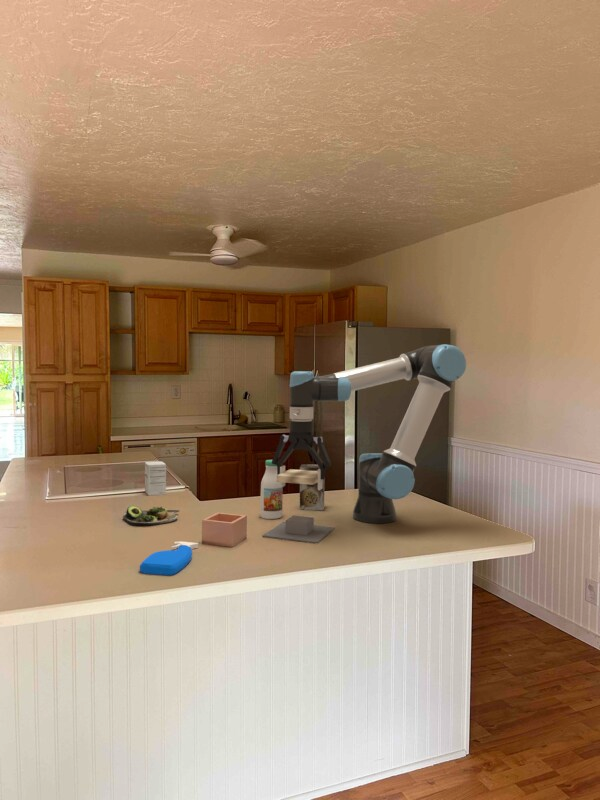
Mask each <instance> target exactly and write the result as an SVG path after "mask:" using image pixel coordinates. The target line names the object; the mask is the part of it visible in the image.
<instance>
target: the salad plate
mask: <svg viewBox="0 0 600 800" xmlns="http://www.w3.org/2000/svg"><path fill="white" fill-rule="evenodd" d="M167 508H168V507H167V506H166V507H162V506H159V507H158V506H157V507H156V506H153V507H152V508H149V510H148V509H147V510H142V509H141V508H140V507H138V506H137V505H129V506H128V507H127V508H126V509H127V510H126V511H125V513H124V514H123V515H122V518H123V520H124V521H125V522H126V523H127V525H128V524H129V525H131V526H134V527H151V526H158V525H163V524H168V523H172V522H174V521H176V520H177V519H179V516H178V515H176V514H177V513H179V512H180V510H179V509H167Z"/></svg>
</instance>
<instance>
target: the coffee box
mask: <svg viewBox="0 0 600 800" xmlns="http://www.w3.org/2000/svg"><path fill="white" fill-rule="evenodd" d="M318 469H320V467H319V466H318V464H304V463H303V464H302V463H301V465H300V466H299V470H309V471H318ZM300 509H304V511H305V510H307V511H324V510H325V479H323V489H321V490H318V482H317V483H315V484H313V485H311V484H299V510H300Z"/></svg>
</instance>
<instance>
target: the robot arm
mask: <svg viewBox="0 0 600 800" xmlns="http://www.w3.org/2000/svg"><path fill="white" fill-rule="evenodd" d="M466 367H467V360H466V358H465V354H464V352H463V351H462V350H461V349H460V348H459V347H457V346H455V345H452V344H448V343H447V344H446V343H445V344H436V345H435V344H434V345H425V346H423V347H419V348H418V349H415V350H411V351H408V352H404V353H401V354H400V355H399V357H396V358H391V359H387V360H384V361H380V362H375V363H372V364H367V365H363V366H359V367H354V368H350V369H347V370H342V371H338V372H334V373H329V374H325V375H321V376H320V375H317V376H315V375H314V372H313V371H308V370H307V371H295V370H294V371H292V372H291V373H290V376H289V377H290V378H289V419H290V421H289V434H288V435H286V434H282V435H280V436H279V442H278V445H277V447H276V450H275V453H274V454H273V457H272V459H271V460H272V464H275V465H277V475H279V474H281V473H283V472H285V471H286V465H284V464H285V462H286V461H287V459H288V458H289V457H290V456H291V454H292V453H293V451H295V450H296V451H298V450H302V451H306V450H307V451H308V452H309V454H310V455H311V457H312V459H314V461H315V462H316V465H318V466H319V467H320V469H318V490H321V489H323V479H324V480H325V479H326V476H327V475H326V471H327V470H326V469H328V468H330V467H332V466H333V464H332V462H331V460H330V459H331V458H330V457H329V453H328V452H327V449H326V447H325V444H324V437H323V436H314V421H313V420H314V403H315V402H347V401H348V400H350V398H351V395H352V392H356V391H358V390H359V391H360V390H362V389H367V388H368V389H369V388H371V387H376V386H380V385H384V384H387V383H390V382H391V383H392V382H396V381H400V380H405V381H412V380H418V385H417V387H416V390H415V391H414V395H413V396H412V398H411V400H410V403H409V406H408V408H407V410H406V413H405V414H404V417H403V419H402V421H401V424H400V425H399V428H398V429H397V432H396V435H395V437H394V438H393V441H392V443H391V445H390V447H389V448H388V449H385V450H383V452H382V453H379V452H378V453H377V452H376V453H374V452H371V453H362V454H360V456H359V462H358V495H357V499H356V502H355V504H354V508H353V510H352V518H353V519H354V520H357V521H359V522H361V523H362V522H364V523H370V524H388V523H391V522H392V523H393V522H395V521H396V520H397V511H396V508H395V503H394V501H393V500H401V499H403V498H405V497H406V496H408V495H409V494H410V493H411V492H412V490H413V489H414V486H415V481H416V478H415V476H414V471H415V470H416V468H417V463H416V461H415V460H416V459H415V458H416V456H417V454H418V451H419V449H420V447H421V444H422V442H423V440H424V438H425V436H426V434H427V431H428V429H429V427H430V424H431V422H432V420H433V417H434V415H435V413H436V411H437V409H438V407H439V405H440V402H441V399H442V398H443V395H444V393H446V392H449V391H451V388H452V386H453V384H454V382H455V381H457V380H459V379H460V378H461V377H462V376H463V375H464V373H465V371H466ZM288 441H289V442H290V444H289V446H288V447H287V449H286V451H285V452H284V453H283V450H284V448H285V446H286V443H287V442H288ZM314 442H315V444H316V445H317V447H318V450H319V452H320V454H319V453H318V452H317V451H316V448H315V446H314V445H313V443H314ZM282 453H283V455H282ZM281 455H282V456H281ZM320 455H321V456H320ZM285 486H286V483H285V482H280V487H283V488H284V487H285Z"/></svg>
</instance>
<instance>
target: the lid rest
mask: <svg viewBox="0 0 600 800" xmlns="http://www.w3.org/2000/svg"><path fill="white" fill-rule="evenodd" d="M314 519H315V517H314V516H306V515H305V516H304V515H295V514H294V515H291V516H290V517H288V518H287V519H285V521H282V522H281V523H279V524H278V525H276V526H274V527H273V528H272V529H270V530H269V531H266V533H264V534H262V536H261V537H262V538H268V539H276V540H283V539H284V540H285V541H293V542H301V543H307V542H309V544H315V543H318V544H319V543H320V542H321V541H323V538H324V539H325V538H326V537H327V536H328V535H329V534H330V533H332V532H333V531H334V530H335V529H336V527H335V526H327V525H326V526H325V525H318V524H317V525H316V524H314V523H315V520H314ZM332 530H333V531H332ZM331 531H332V532H331Z"/></svg>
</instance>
